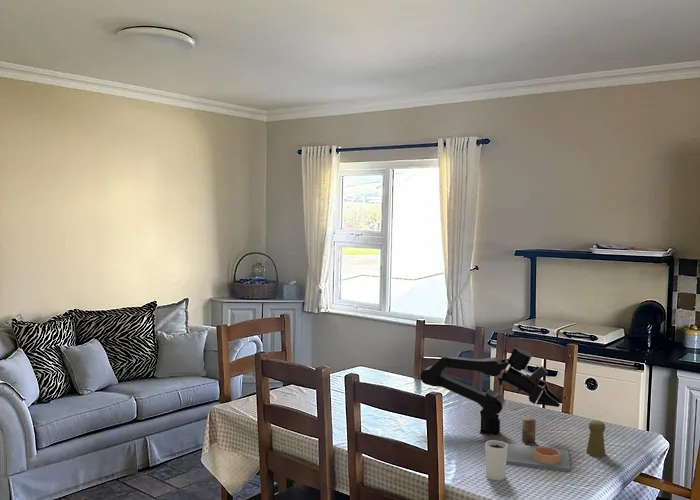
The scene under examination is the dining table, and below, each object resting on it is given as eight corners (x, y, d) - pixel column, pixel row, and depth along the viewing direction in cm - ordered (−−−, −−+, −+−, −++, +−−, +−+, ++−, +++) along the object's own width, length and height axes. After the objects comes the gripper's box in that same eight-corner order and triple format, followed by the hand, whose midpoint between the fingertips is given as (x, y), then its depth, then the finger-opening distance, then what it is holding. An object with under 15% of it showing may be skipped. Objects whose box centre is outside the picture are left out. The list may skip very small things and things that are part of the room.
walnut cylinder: (521, 443, 222) (522, 420, 222) (522, 438, 227) (522, 416, 226) (534, 444, 221) (535, 422, 221) (535, 440, 225) (535, 418, 225)
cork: (607, 457, 210) (608, 425, 209) (587, 456, 211) (589, 423, 211) (603, 451, 216) (604, 419, 215) (585, 449, 217) (586, 417, 216)
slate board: (504, 463, 204) (504, 460, 204) (507, 446, 219) (507, 443, 219) (569, 471, 198) (570, 468, 198) (568, 453, 213) (568, 450, 213)
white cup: (481, 472, 197) (482, 440, 196) (502, 471, 198) (503, 440, 197) (488, 481, 190) (489, 448, 190) (509, 480, 191) (510, 448, 190)
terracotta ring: (532, 461, 203) (533, 454, 203) (533, 452, 211) (533, 445, 211) (560, 465, 201) (560, 457, 200) (559, 455, 209) (560, 448, 208)
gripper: (527, 364, 219) (570, 387, 214) (531, 358, 236) (571, 380, 231) (512, 391, 220) (554, 416, 215) (517, 384, 237) (556, 406, 232)
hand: (559, 403), depth 223 cm, fingers open, 9 cm apart
